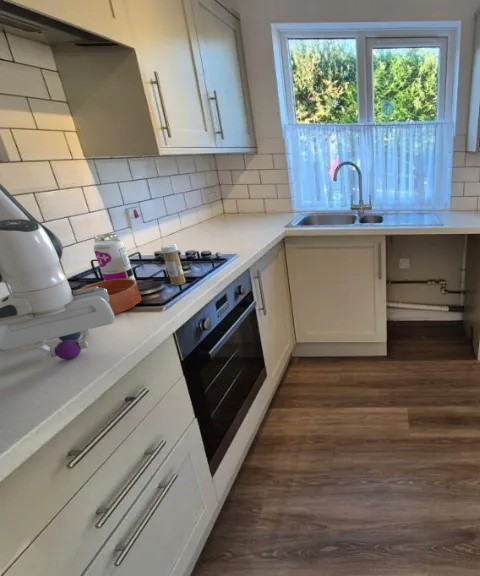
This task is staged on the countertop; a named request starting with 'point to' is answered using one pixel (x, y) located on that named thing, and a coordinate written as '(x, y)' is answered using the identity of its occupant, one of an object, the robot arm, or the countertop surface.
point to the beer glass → (105, 237)
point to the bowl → (120, 293)
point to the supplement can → (113, 260)
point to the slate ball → (70, 337)
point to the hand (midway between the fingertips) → (69, 351)
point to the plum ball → (68, 349)
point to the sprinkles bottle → (173, 264)
